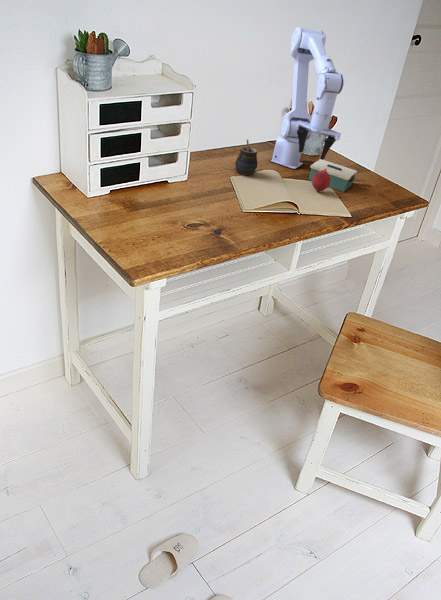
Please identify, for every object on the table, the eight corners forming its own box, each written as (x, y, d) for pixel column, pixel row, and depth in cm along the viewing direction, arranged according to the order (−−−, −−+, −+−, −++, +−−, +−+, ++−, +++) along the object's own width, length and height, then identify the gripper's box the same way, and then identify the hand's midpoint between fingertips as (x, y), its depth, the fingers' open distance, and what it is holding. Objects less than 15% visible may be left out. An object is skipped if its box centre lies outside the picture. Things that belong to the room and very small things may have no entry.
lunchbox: (305, 179, 189) (310, 163, 186) (315, 172, 196) (319, 157, 193) (345, 192, 184) (350, 177, 181) (354, 185, 192) (358, 169, 189)
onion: (321, 197, 178) (328, 173, 173) (306, 190, 180) (312, 167, 176) (329, 193, 182) (336, 169, 177) (314, 186, 184) (321, 163, 180)
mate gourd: (238, 177, 180) (244, 147, 175) (229, 168, 186) (235, 138, 180) (258, 177, 183) (264, 147, 178) (249, 168, 189) (255, 139, 183)
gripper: (296, 108, 173) (286, 151, 180) (340, 122, 168) (328, 164, 176) (304, 105, 178) (294, 146, 186) (347, 118, 174) (335, 159, 181)
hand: (311, 155), depth 181 cm, fingers open, 7 cm apart
